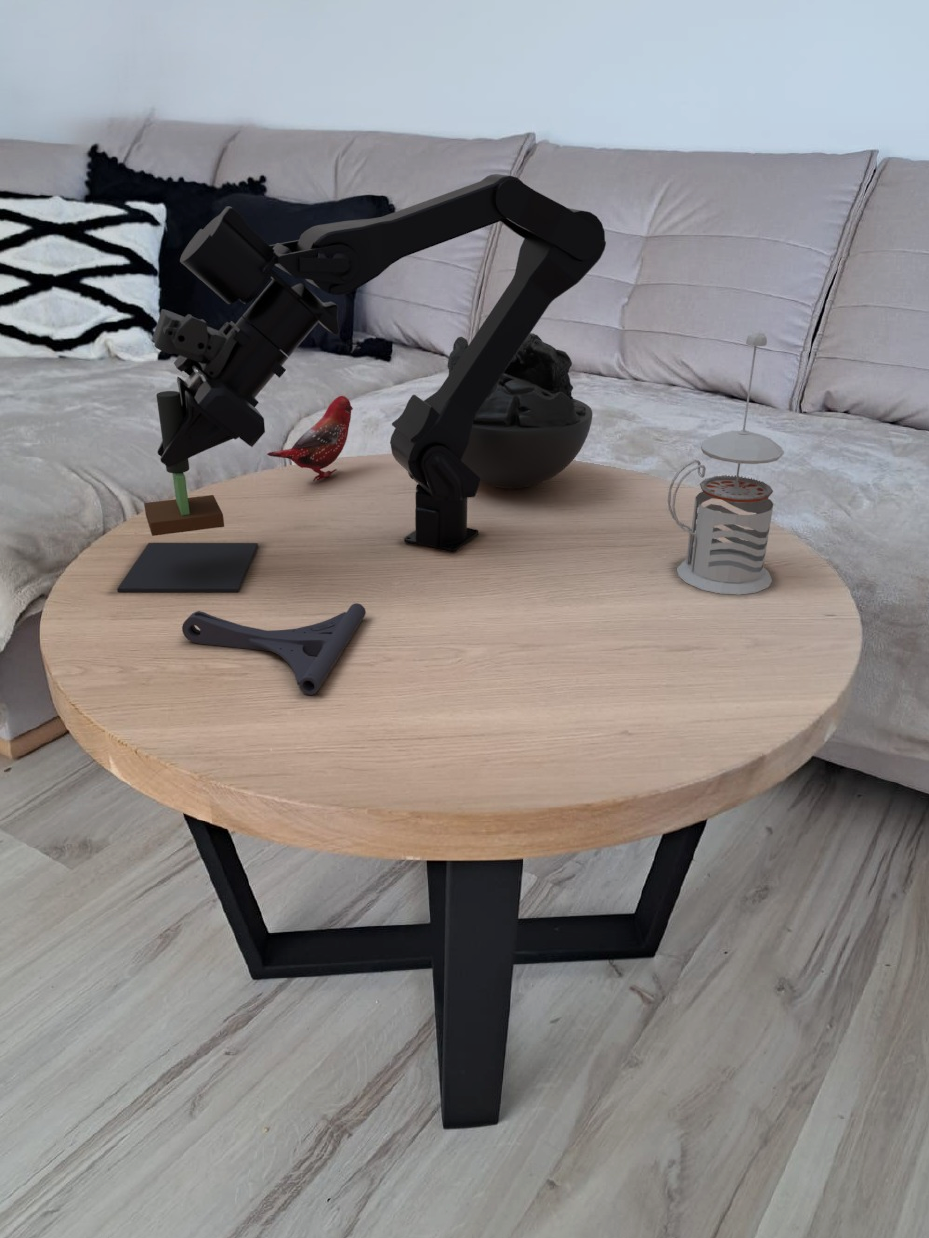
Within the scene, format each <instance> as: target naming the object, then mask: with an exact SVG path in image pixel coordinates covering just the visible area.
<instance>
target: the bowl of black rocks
mask: <svg viewBox="0 0 929 1238" xmlns="http://www.w3.org/2000/svg"><path fill="white" fill-rule="evenodd" d="M452 346H453V347H452V351H451V352H449V356H448V358H447V359H448V360H447V369H448V374H447V377H448V376H449V374H450V373H451V371H452V370H453V368H454V367H455V365H456V364H457V362H458V361H459V359H460V358H461V356H462V355H463V353H464V352H465V350H466V349H467V347H468V346H469V341H468V339H467V338H465V337H463V336H458V337H456V339H455V341H454V342H453V345H452ZM572 365H573V361H572V359H571V357H570V356H569V355H568V354H567V352H566V351H564V350H561V349H557V348H556V347H554V346H553V345H551V344H548V343H547V342H544V341H543V340H542V339H541V337H540V336H538V334H536V333H534V332H531V333H530V334H529V336H528V337H527V339H526V340H525V342H524V343H523V345H522V346H521V348H520V349H519V351H518V352H517V354H516V355H515V357H514V358H513V359H512V361H511V362H510V364H509V365H508V367H507V368H506V370H505V371H504V373H503V374H502V376H501V377H500V379H499V380H498V382H497V383H496V385H495V386H494V388H493V389H492V391H491V392H490V394H489V395H488V397H487V398H486V400H485V401H484V402H483V404H482V405H481V407H480V408H479V410H478V411H477V413H476V415H475V417H474V421H473V426H472V430H471V435H470V440H469V445H468V447H467V449H466V451H465V453H464V455H463V458H462V460H461V461H462V462H463V463H464V464H465V465H466V466H467V467H469V468H470V469H471V470H472V471H473V472H474V473H475V474H476V475H477V476H478V477H480V479H481V480H480V483H483V484H486V485H488V486H492V487H494V488H499V489H500V488H501V489H524V488H529V487H534V486H536V485H540V484H542V483H545V482H547V481H549V480H550V479H553V478H554V477H556V476H557V475H558V474H560V473H561V472H563V471H564V470H565V469H566V468H567V467H568V466H569V465H570V464H571V463H572V462H573V461H574V460H575V459H576V457H577V456H578V455H579V453H580V451H581V449H582V448H583V446H584V444H585V443H586V440H587V438H588V435H589V433H590V429H591V425H592V420H593V415H594V414H593V409H592V408H591V407H590V406H589V405H588V404H586V403H585V402H583V401H581V400H579V399H577V398H574V396H572V391H573V390H574V386H573V385H572V383H571V378H570V375H569V373H570V369H571V367H572Z"/></svg>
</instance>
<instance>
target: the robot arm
mask: <svg viewBox="0 0 929 1238" xmlns="http://www.w3.org/2000/svg"><path fill="white" fill-rule="evenodd" d="M497 223H501V224H502V225H503V226H505V227H506V228H507V229H509V230H510V231H512V232H513V233H514V234H516V235H517V236H519V237H521V238H522V239H523V240H522V243H521V245H520V247H519V251H518V256H517V262H516V267H515V271H514V275H513V277H512V279H511V281H510V282H509V283H508V285H507V286H506V288H505V290H504V291H503V293H502V295H501V296H500V298H498V300H497V302H496V304H494V306H493V308H492V309H491V311H490V312H489V314H488V315H487V317H486V319H485V320H484V321H483V323H482V325H481V326H480V328H479V329H478V330H477V331H476V333H475V335H474V336H473V338H472V339H471V341H470V343H468V347H467V349H466V350H465V352H464V353H463V355H462V356H461V358H460V359H459V361H458V362H457V364H456V365H455V367H454V368H453V370H452V371H451V373H450V374H449V373H448V375H449V376H448V375H447V376H446V379H445V380H444V382H443V383H442V384H441V386H440V388H439V389H437V390H436V391H435V392H434V393H433V394H431V395H430V396H428V397H427V398H426V399H424V400H423V399H422V398H421V397H419V396H418V395H416V394H412V395H411V396H410V398H409V399H408V401H407V403H406V405H405V407H404V410H403V411H402V413H401V415H399V417H398V418H396V419H395V420H394V421H392V422H391V426H392V427H393V428H395V429H394V430H393V432H392V434H391V436H390V441H389V443H390V450H391V454H392V456H393V458H394V461H396V462H397V463H398V464H399V465H400V466H401V467H402V468H403V469H404V470H405V471H406V472H407V474H408V476H409V478H410V479H411V480H413V481H414V482H416V485H415V509H414V515H415V516H414V520H415V523H414V524H415V525H414V527H415V529H414V531H412V532H411V533H409V534H408V535H406V536H405V537H404V538H403V542H404V543H405V544H408V545H413V546H419V547H423V548H427V549H433V550H437V551H442V552H447V553H457V551H459V550H460V549H461V548H463V547H464V546H466V545H467V544H468V543H470V542H471V541H473V540H474V539H475V538H476V537H478V536H479V529H476V528H471V527H468V499H469V498H474V497H475V496H476V495H477V492H478V489H479V487H480V484H481V482H480V480H481V479H480V477H478V476H477V475H476V474H475V473H474V472H473V471H472V470H471V469H470V468H469V467H467V466H466V465H465V464H464V463H463V462H462V461H461V460H462V458H463V455H464V453H465V451H466V449H467V447H468V445H469V440H470V435H471V430H472V426H473V421H474V417H475V415H476V413H477V411H478V410H479V408H480V407H481V405H482V404H483V402H484V401H485V400H486V398H487V397H488V395H489V394H490V392H491V391H492V389H493V388H494V386H495V385H496V383H497V382H498V380H499V379H500V377H501V376H502V374H503V373H504V371H505V370H506V368H507V367H508V365H509V364H510V362H511V361H512V359H513V358H514V357H515V355H516V354H517V352H518V351H519V349H520V348H521V346H522V345H523V343H524V342H525V340H526V339H527V337H528V336H529V334H530V333H532V332H533V330H534V328H535V327H536V326H537V324H538V322H540V319H541V318H542V317H543V315H544V314H545V312H546V311H547V309H548V308H549V306H550V305H551V304H552V302H554V300H556V299H557V298H559V297H560V296H562V295H563V294H564V293H566V292H567V291H569V290H570V289H571V288H573V287H574V286H576V285H577V284H578V283H580V282H581V281H582V280H583V279H584V277H585V276H586V275H587V274H588V273H589V272H590V271H591V270H592V269H593V268H594V266H595V265H596V264H597V263H598V262H599V260H601V258H602V256H603V254H604V252H605V251H606V246H607V241H606V234H605V232H606V231H605V228H604V226H603V223H602V221H601V220H600V219H599V217H598V216H597V215H595V214H594V213H592V212H591V211H587V210H581V209H576V208H569V207H567V206H565V205H563V204H562V203H559V202H557V201H556V200H554V199H552V198H549V197H548V196H546V195H544V194H543V193H541V192H539V191H537V190H534V189H533V188H531V187H530V186H529V185H527V184H526V183H524V182H523V181H522V180H521V179H520V178H518V177H516V176H514V175H509V174H500V173H495V174H494V173H493V174H489V175H487V176H486V177H484V178H483V179H481V180H480V181H477V182H475V183H472V184H469V185H467V186H463V187H461V188H458V189H455V190H452V191H449V192H447V193H444V194H441V195H439V196H435V197H433V198H429V199H427V200H424V201H422V202H419V203H416V204H413V205H411V206H408V207H405V208H403V209H400V210H397V211H394V212H391V213H388V214H386V215H383V216H380V217H379V216H378V217H373V218H363V219H353V220H343V221H336V222H330V223H324V224H318V225H314V226H311V227H310V228H308V229H306V230H305V231H304V232H303V233H301V235H300V236H299V239H296V240H291V241H285V242H280V243H279V242H276V243H275V244H268V243H267V242H266V240H265V239H264V238H262V237H261V236H260V235H259V234H258V233H257V232H256V231H255V230H254V229H253V228H252V227H250V225H249V224H248V223H247V222H246V220H245V218H244V217H243V216H242V215H241V214H240V213H239V212H238V211H237V210H236V209H235V208H234V207H232V206H225V207H224V209H223V210H222V211H221V213H220V214H218V215H217V216H215V217H214V218H213V219H212V220H211V221H209V223H208V224H207V225H205V226H204V228H203V229H202V228H199V230H198V231H197V232H196V233H195V234H194V236H193V237H192V238H191V239H190V241H189V243H187V245H186V247H185V248H184V250H183V251H182V254H181V255H180V258H179V262H180V263H181V265H183V266H184V267H186V268H187V269H188V270H189V271H190V272H191V273H192V274H193V275H194V276H196V277H197V278H198V279H199V280H200V281H202V282H203V283H204V284H205V285H206V286H207V287H208V288H210V290H212V291H213V292H214V293H215V294H216V295H217V296H218V297H219V298H221V299H222V300H223V301H224V302H225V303H226V304H227V305H231V304H234V303H236V302H237V301H238V300H239V301H240V302H241V303H242V304H244V305H246V304H248V303H250V302H251V301H253V300H254V299H255V298H256V299H255V300H254V302H253V303H252V304H251V305H250V306H249V307H248V308H247V310H246V311H245V312H244V313H243V315H242V316H241V317H240V318H239V319H238V320H237V322H236V323H234V322H233V320H230V322H228V321H226V322H224V324H223V325H222V327H220V329H219V330H218V329H215V328H213V327H210V326H208V324H207V322H206V321H205V320H204V319H202V318H201V319H199V318H197V317H194V316H193V315H192V314H190V313H188V314H186V315H185V316H183V315H180V314H178V313H175V312H173V311H171V310H167V309H161V310H160V313H159V317H158V320H157V323H156V326H155V328H154V332H153V335H152V338H151V342H152V343H154V347H155V349H157V350H159V351H161V352H163V353H166V354H169V355H173V354H176V355H178V357H177V358H176V359H175V361H173V364H174V366H175V368H176V369H177V370H178V371H179V372H181V373H183V372H184V373H185V374H187V376H188V377H187V378H186V379H185V380H184V379H182V378H181V377H180V376H177V377H176V383H177V387H178V392H179V393H180V396H181V404H182V412H183V421H182V422H181V424H180V426H179V427H178V429H177V431H176V432H175V434H174V436H173V437H172V439H171V441H170V442H169V444H168V446H167V448H166V449H165V451H164V448H163V441H162V440H161V443H160V445H159V447H158V448H157V455H158V456H159V457H160V459H159V460H160V462H161V463H162V464H163V465H164V466H165V467H166V466H167V467H171V466H173V465H175V464H177V463H179V462H181V461H184V460H186V459H188V460H189V459H190V458H192V457H194V456H197V455H199V454H200V453H204V452H205V451H207V450H210V449H212V448H215V447H218V446H219V445H222V444H224V443H226V442H229V441H231V440H237V439H240V440H241V441H243V442H244V443H245V444H247V445H248V446H249V447H251V448H253V447H254V446H255V445H256V443H257V442H258V441H259V440H260V439H261V437H262V436H264V434H265V433H266V427H265V417H264V416H263V415H262V414H261V412H260V411H259V409H257V408H256V407H257V406H258V405H259V404H260V403H259V401H258V400H257V396H258V395H259V394H260V392H261V391H262V390H263V389H264V388H265V386H266V385H267V384H268V383H269V382H270V381H271V379H272V378H273V377H274V376H275V375H276V377H278V378H281V377H282V376H283V375H284V374H285V372H286V371H287V369H286V368H285V367H284V364H285V363H286V361H288V359H289V358H290V357H291V356H292V354H293V353H294V352H295V351H296V350H297V348H298V347H299V346H300V345H301V343H302V342H303V341H305V339H306V338H307V336H308V335H309V334H310V333H311V332H312V330H313V329H314V328H315V327H316V326H317V325H318V323H319V324H320V325H321V326H322V327H323V328H324V329H325V330H327V331H328V332H330V333H331V334H332V335H338V334H339V333H340V327H339V326H340V325H339V319H338V314H339V313H338V311H339V306H338V304H336V303H335V302H333V301H327V302H323V301H322V300H321V299H320V298H319V297H317V295H316V294H314V293H313V292H312V291H311V290H310V289H309V288H308V287H307V286H306V285H305V284H304V283H297V284H295V285H293V286H292V287H291V286H290V285H289V284H288V283H287V282H286V281H285V280H284V279H283V278H282V277H281V276H279V275H278V274H277V273H276V272H275V271H274V270H273V268H274V267H277V268H279V269H280V270H282V271H283V272H284V273H286V274H289V275H290V276H291V277H293V278H296V279H304V280H306V282H308V283H310V284H311V285H313V286H314V287H317V289H320V290H322V291H324V292H325V293H327V294H330V295H333V296H342V295H347V294H350V293H352V292H355V291H356V290H357V289H359V288H360V287H362V286H364V285H366V284H367V283H369V282H371V281H372V280H374V279H375V278H377V277H379V276H380V275H381V274H382V273H383V272H384V271H386V270H387V269H388V268H389V267H390V266H391V265H394V264H395V263H396V262H398V261H399V260H401V259H403V258H405V257H408V256H410V255H413V254H416V253H418V252H422V251H424V250H427V249H429V248H433V247H435V246H437V245H440V244H444V243H445V242H449V241H451V240H454V239H456V238H459V237H461V236H464V235H467V234H471V233H473V232H475V231H477V230H480V229H483V228H486V227H489V226H491V225H494V224H497ZM270 279H271V280H270ZM269 280H270V282H269ZM268 282H269V283H268ZM266 284H268V285H266ZM265 285H266V287H265ZM264 287H265V288H264ZM262 290H263V291H262ZM261 291H262V292H261ZM256 296H258V297H256Z"/></svg>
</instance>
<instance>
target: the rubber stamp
mask: <svg viewBox="0 0 929 1238" xmlns="http://www.w3.org/2000/svg"><path fill="white" fill-rule="evenodd" d="M155 396H156V403H157V410H158V411H157V412H158V418H159V425H160V430H161V431H160V433H161V442H162V441H163V448H164V451H165V449H166V448H167V446H168V444H169V442H170V441H171V439H172V437H173V436H174V434H175V432H176V431H177V429H178V427H179V426H180V424H181V422H182V421H183V412H182V404H181V396H180V393H179V391H176V390H164V391H160V392H157V393H156V395H155ZM165 470H166V472H167V473H169V474H172V481H173V489H174V496H175V499H167V500H159V501H157V500H156V501H149V502H144V503H143V506H144V514H145V518H146V520H147V524H148V528H149V530H150V534H151V536H152V537H154V536H155V537H156V536H162V535H171V534H179V533H185V532H186V533H187V532H193V531H202V530H209V529H217V528H218V529H219V528H225V519H224V513H223V512H222V509H221V507H220V505H219V503H218V501H217V499H216V497H215V495H214V494H209V495H201V496H193V497H189V496H188V488H187V480H186V476H185V473H186V472H188V471H189V470H190V461H189V458H188V459H186V460H184V461H181V462H179V463H177V464H175V465H173V466H171V467H167V466H166V465H165Z"/></svg>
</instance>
